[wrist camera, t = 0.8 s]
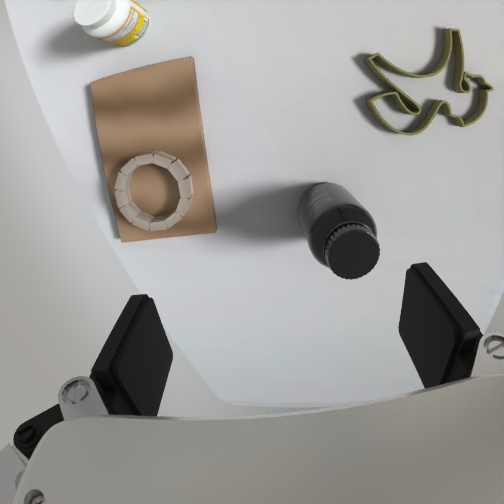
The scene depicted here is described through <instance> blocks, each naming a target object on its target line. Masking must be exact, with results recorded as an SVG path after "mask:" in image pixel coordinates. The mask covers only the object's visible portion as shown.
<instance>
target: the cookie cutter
mask: <svg viewBox="0 0 504 504" xmlns="http://www.w3.org/2000/svg"><path fill="white" fill-rule="evenodd" d="M443 33H444V50H443V54H442V58H441V60H440V62H439V64H438V65H437V67H436V68H435V69H434V70H433V71H431V72H430V73H428V74H425V75H416V74H411V73H408V72H406V71H404V70H401V69H400V68H398V67H396V66H394V65H393V64H391V63H390V62H389V61H387V60H386V59H385V58H384V57H382V56H381V55H380V54H379V53H376V54H373V55H371V56H370V57H368V58H366V59H364V61H365V62H366V64H367V65H368V67H369V68H370V69H371V71H372V72H373V73H374V74H375V75H376V76H377V77H378V78H379V79H380V80H381V81H382V82H383V83H384V84H386V85H387V86H388V87H389V88H390V89H391V90H393V91H394V92H386V93H381V94H377V95H375V96H372V97H370V98H369V99H367V100H366V103H367V105H368V107H369V108H370V110H371V112H372V113H373V115H374V116H375V117H376V118H377V120H378V121H379V122H380V123H381V124H382V125H384V126H385V127H386V128H388V129H389V130H391V131H393V132H396V133H399V134H403V135H416V134H419V133H421V132H422V131H424V130H425V129H426V128H427V127H428V126H429V124H430V123H431V122H432V120H433V118H434V117H435V115H436V113H437V111H438V110H439V108H440V106H442V109H443V114H444V115H445V116H450V117H453V118H454V120H455V122H456V126H459V127H466V126H468V125H471V124H473V123H474V122H476V121H477V120H478V119H480V118H481V116H482V115H483V114H484V112H485V110H486V107H487V103H488V92H490V91H492V90H493V87H492V86H491V85H490V84H488V83H486V82H485V79H484V78H483V77H482V76H481V75H471V74H469V73H466V72H464V52H463V45H462V39H461V35H460V31H459V29H451V28H449V29H446V30H443ZM452 37H453V42H454V48H455V57H456V69H455V77H454V81H453V88H454V90H455V91H456V92H458V93H469V92H470V91H471V86H470V84H469V82H468V81H467V79H466V77H467V78H475V79H476V80H477V83H478V84H480V85H482V86H483V87H484V89H481V90H479V91H480V98H479V104H478V107H477V109H476V111H475V112H474V114H473V115H472V116H471V117H470V118H468V119H467V120H465V121H463V120H462V118H461V117H460V116H458V115H452V113H451V108H450V105H449V103H448V102H447V101H441V100H437V101H435V102H434V103H433V105H432V106H431V108H430V109H429V111H428V113H427V115H426V116H425V118H424V120H423V121H422V122H421V124H420V125H419V126H418V127H416V128H415V129H413V130H411V131H408V132H401V131H398V130H397V129H395V128H393V127H392V126H391V125H389V124H388V123H387V122H386V121H385V120H384V119H383V117H382V116H381V115H380V113H379V112H378V110H377V109H376V107H375V105H374V103H373V101H374V100H376V99H378V98H380V97H383V96H386V95H391V96H392V98H393V100H394V102H395V103H396V105H397V106H398V107H399V108H400V109H401V110H402V111H403V112H404V113H406V114H411V115H419V114H420V113H421V108H420V106H419V105H418V104H417V103H416V102H415V101H414V100H413V99H411V98H410V97H409V96H408V95H406V94H405V93H404V92H403V91H401V90H400V89H399V88H398V87H397V86H396V85H394V84H393V83H392V82H391V81H390V80H389V79H388V78H387V77H386V76H385V75H384V74H383V73H382V72H381V71H380V70H379V69H378V68H377V66H376V65H375V64H374V62H373V61H372V58H375V59H376V60H377V61H378V62H380V63H381V64H382V65H384V66H385V67H387V68H388V69H390V70H392V71H394V72H396V73H398V74H400V75H403V76H406V77H412V78H422V77H430V76H433V75H436V74H438V73H439V72H440V71H442V70H443V69H444V67H445V66H446V65H447V63H448V61H449V58H450V55H451V51H452ZM461 85H462V86H461ZM399 96H400V97H401V98H403V99H404V100H405V101H406V102H408V103H409V104H410V105H411V106H412V107H413V111H412V112H411V111H410V110H409V109H408V108H407V107H406V106H405V105H404V104H403V102H402V100H401V99H400V97H399Z"/></svg>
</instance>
